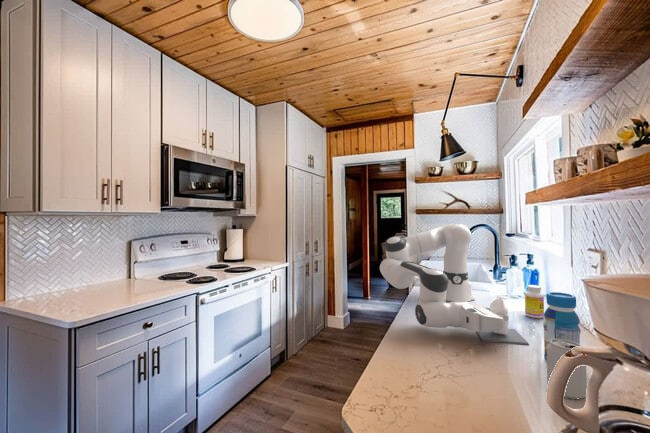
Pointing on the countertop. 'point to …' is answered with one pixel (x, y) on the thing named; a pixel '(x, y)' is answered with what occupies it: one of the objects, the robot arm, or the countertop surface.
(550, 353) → the can
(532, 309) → the supplement bottle
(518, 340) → the mat
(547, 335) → the beverage bottle
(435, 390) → the countertop surface
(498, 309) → the white piece
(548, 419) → the countertop surface
